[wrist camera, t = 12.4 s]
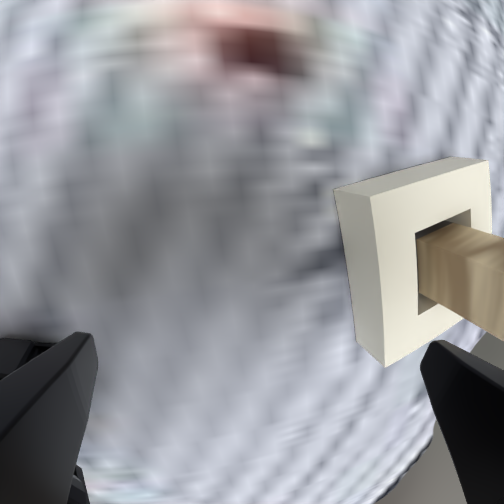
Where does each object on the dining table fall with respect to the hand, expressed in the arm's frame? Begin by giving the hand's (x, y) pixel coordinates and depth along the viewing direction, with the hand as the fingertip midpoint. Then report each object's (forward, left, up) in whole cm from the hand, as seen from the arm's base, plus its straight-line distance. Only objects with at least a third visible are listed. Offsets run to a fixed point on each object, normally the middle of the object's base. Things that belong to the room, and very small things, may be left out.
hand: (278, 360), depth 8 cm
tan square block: (0, -15, -12) cm, 20 cm away
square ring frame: (0, -15, -12) cm, 20 cm away
